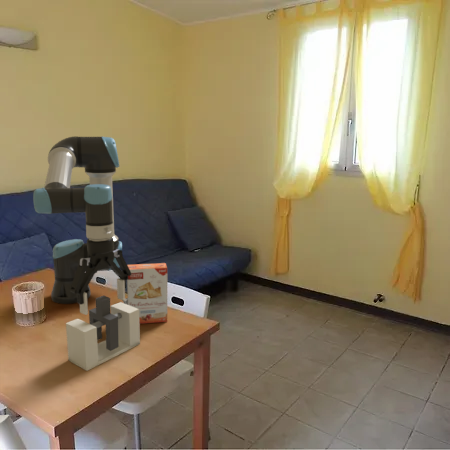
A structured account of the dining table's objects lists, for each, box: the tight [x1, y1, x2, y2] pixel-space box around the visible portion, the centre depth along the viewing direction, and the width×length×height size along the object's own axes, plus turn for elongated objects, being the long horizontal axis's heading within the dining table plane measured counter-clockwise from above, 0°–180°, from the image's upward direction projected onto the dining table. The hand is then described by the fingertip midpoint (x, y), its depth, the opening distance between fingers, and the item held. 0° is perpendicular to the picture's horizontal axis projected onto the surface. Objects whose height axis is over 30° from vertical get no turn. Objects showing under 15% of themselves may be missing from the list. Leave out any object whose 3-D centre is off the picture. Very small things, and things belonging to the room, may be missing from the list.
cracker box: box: [126, 262, 168, 325], centre depth 148 cm, size 14×6×21 cm, turn 103°
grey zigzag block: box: [88, 295, 119, 351], centre depth 126 cm, size 10×3×15 cm, turn 53°
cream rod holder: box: [65, 301, 141, 372], centre depth 127 cm, size 9×20×12 cm, turn 143°
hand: (103, 306), depth 125 cm, fingers open, 13 cm apart
